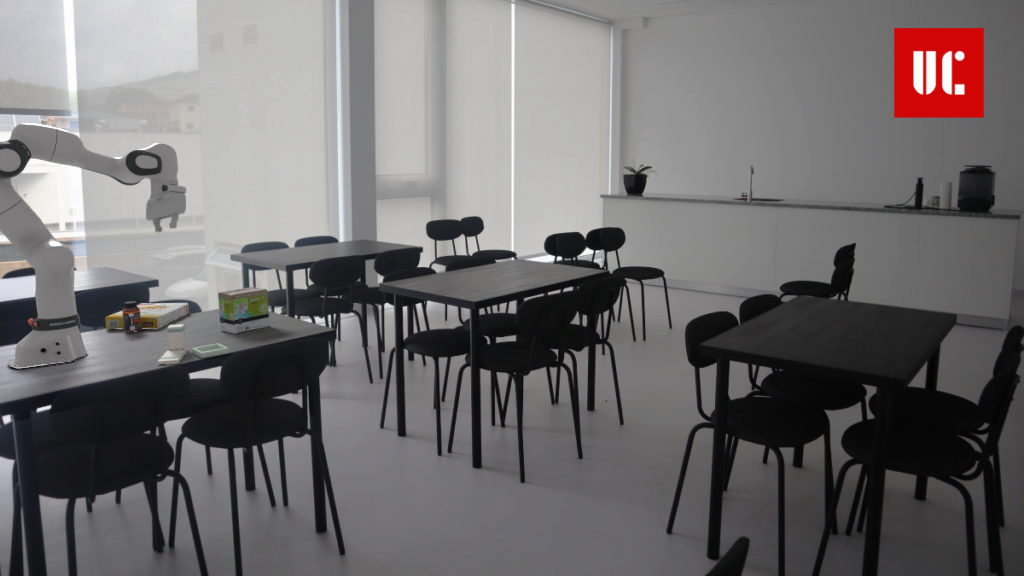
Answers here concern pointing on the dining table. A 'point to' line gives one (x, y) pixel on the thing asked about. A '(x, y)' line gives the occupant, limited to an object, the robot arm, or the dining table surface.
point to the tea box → (243, 309)
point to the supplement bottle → (131, 317)
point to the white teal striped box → (177, 337)
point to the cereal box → (151, 315)
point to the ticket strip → (172, 357)
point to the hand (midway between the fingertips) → (165, 230)
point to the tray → (210, 350)
